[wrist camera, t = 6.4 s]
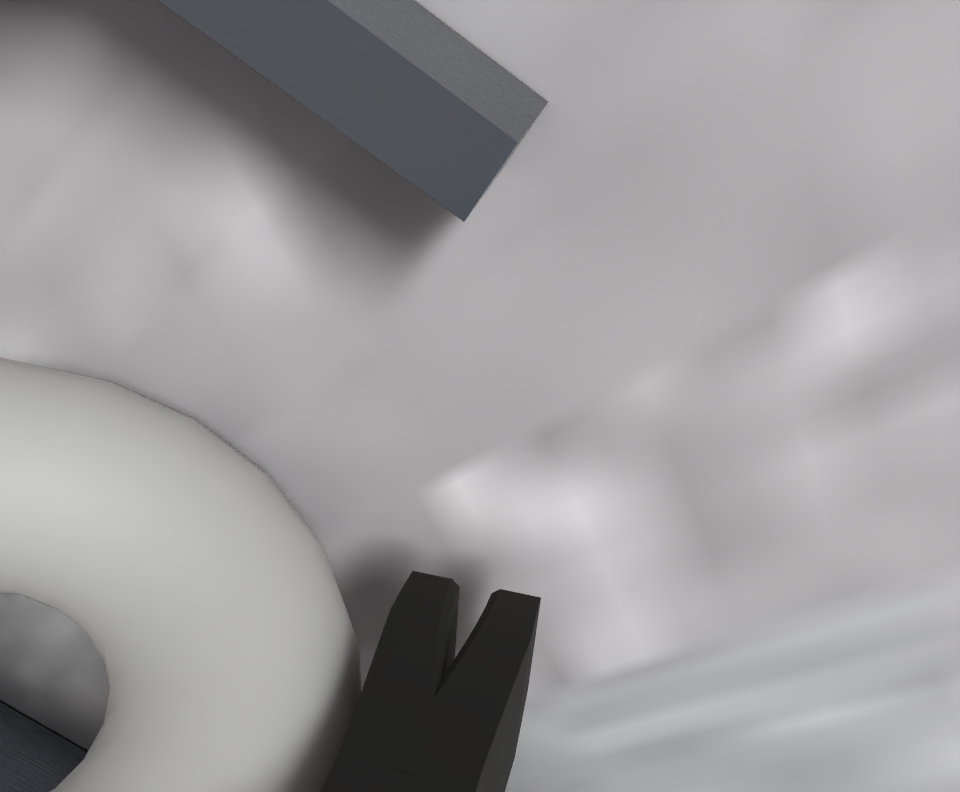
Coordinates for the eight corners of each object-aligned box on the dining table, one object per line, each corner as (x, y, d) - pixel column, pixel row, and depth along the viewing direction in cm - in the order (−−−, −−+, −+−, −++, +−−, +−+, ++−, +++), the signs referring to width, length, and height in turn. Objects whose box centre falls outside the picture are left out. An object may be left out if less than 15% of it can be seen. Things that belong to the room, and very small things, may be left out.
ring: (574, -172, 8) (545, -195, 6) (472, 876, 19) (451, 971, 17) (-702, -238, 11) (-960, -266, 9) (-156, 711, 21) (-228, 779, 20)
